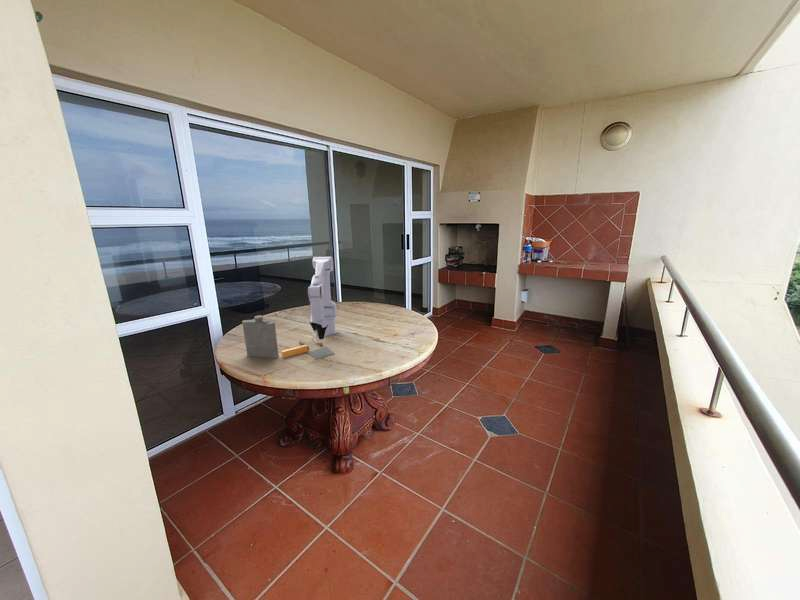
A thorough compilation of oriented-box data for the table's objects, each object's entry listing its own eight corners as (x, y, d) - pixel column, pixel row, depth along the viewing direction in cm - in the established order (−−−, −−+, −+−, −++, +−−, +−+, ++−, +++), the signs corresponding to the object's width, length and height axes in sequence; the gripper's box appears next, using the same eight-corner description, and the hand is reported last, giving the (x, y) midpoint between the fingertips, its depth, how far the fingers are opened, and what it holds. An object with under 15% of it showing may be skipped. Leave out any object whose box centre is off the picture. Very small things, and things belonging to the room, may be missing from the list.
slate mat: (307, 352, 157) (307, 352, 157) (326, 347, 163) (326, 346, 163) (315, 360, 149) (315, 359, 149) (335, 354, 155) (335, 353, 155)
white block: (312, 340, 155) (312, 330, 153) (321, 338, 157) (320, 328, 156) (316, 343, 151) (315, 333, 150) (325, 341, 154) (324, 331, 153)
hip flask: (245, 356, 154) (239, 316, 148) (251, 352, 157) (245, 314, 152) (276, 358, 151) (271, 318, 145) (280, 354, 155) (276, 315, 149)
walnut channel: (299, 343, 167) (299, 340, 167) (314, 339, 172) (314, 336, 172) (306, 350, 160) (306, 346, 159) (322, 345, 165) (322, 342, 164)
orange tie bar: (282, 356, 152) (281, 351, 152) (306, 350, 159) (305, 344, 159) (283, 358, 151) (282, 352, 150) (307, 351, 158) (307, 345, 157)
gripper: (303, 308, 154) (305, 334, 157) (315, 315, 142) (317, 344, 146) (317, 305, 158) (319, 331, 161) (330, 312, 146) (331, 340, 150)
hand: (319, 337), depth 154 cm, fingers closed on white block, 4 cm apart
